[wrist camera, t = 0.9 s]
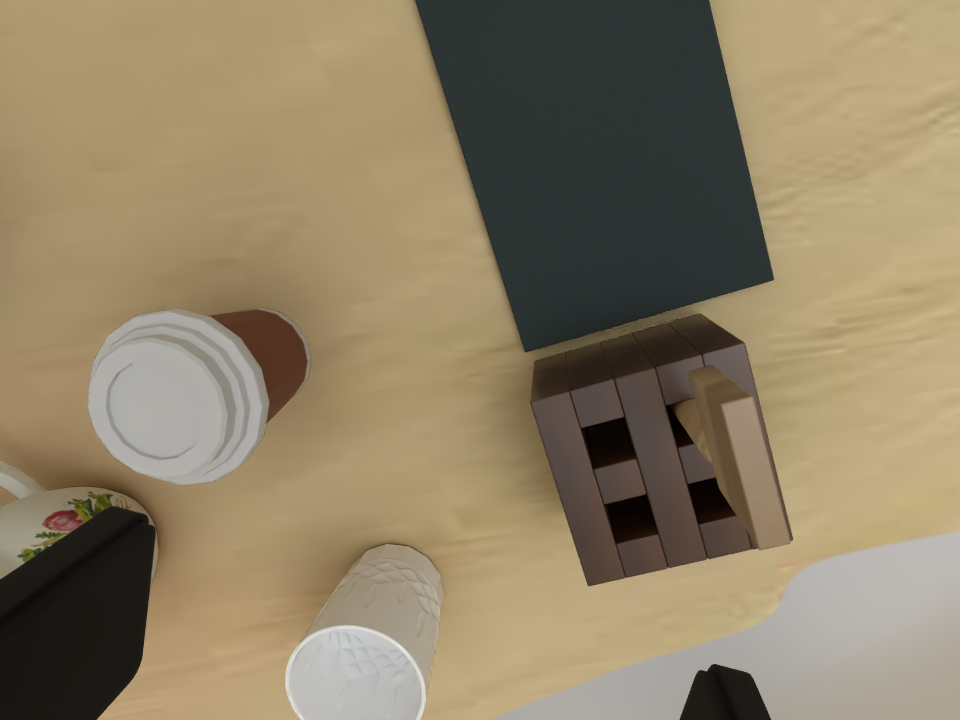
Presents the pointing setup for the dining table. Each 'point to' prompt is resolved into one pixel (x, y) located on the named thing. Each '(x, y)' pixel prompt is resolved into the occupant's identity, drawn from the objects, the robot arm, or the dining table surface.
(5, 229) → the dining table surface
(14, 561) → the pitcher
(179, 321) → the coffee cup
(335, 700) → the white cup
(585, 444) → the utensil block
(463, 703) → the dining table surface
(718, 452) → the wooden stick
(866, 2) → the dining table surface
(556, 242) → the mat
